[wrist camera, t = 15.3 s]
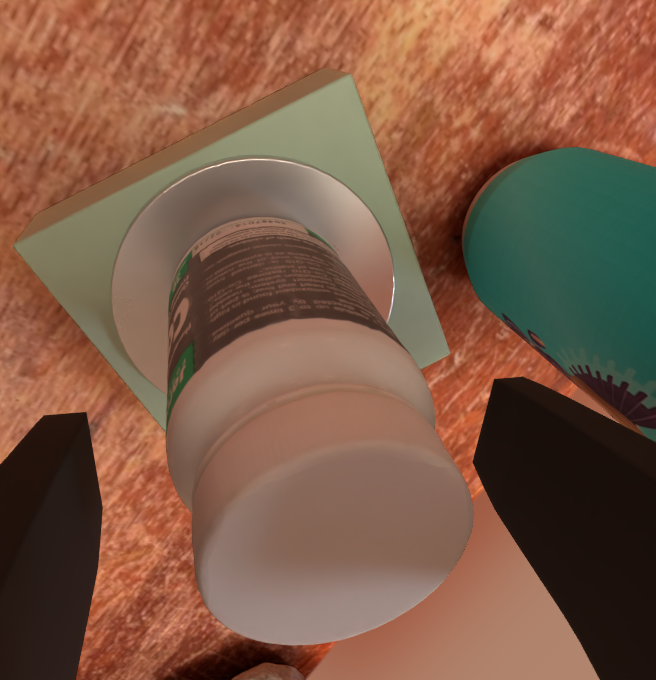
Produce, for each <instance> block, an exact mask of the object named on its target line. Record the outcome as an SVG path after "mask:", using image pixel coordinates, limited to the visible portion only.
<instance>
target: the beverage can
mask: <svg viewBox="0 0 656 680" xmlns="http://www.w3.org/2000/svg"><path fill="white" fill-rule="evenodd" d="M462 249H463V255H464V260H465V265H466V268H467V271H468V275H469V278H470V281H471V283H472V286H473V289H474V291H475V292H476V294H477V296H478V297H479V299H480V300H481V302H482V303H483V304H484V305H485V306H486V307H487V308H488V309H489V310H490V311H491V312H493V313H494V314H495V315H496V316H497V317H498V318H499V319H501V320H502V321H503V322H504V323H505V324H506V325H508V326H509V327H510V328H511V329H512V330H513V331H514V332H516V333H517V334H518V335H519V336H520V337H521V338H522V339H524V340H525V341H526V342H527V343H528V344H529V345H530V346H532V347H533V348H534V349H535V350H536V351H537V352H539V353H540V354H541V355H542V356H543V357H544V358H545V359H547V360H548V361H549V362H550V363H551V364H552V365H553V366H555V367H556V368H557V369H558V370H559V371H560V372H561V373H563V374H564V375H565V376H566V377H567V378H568V379H569V380H571V381H572V382H573V383H574V384H575V385H576V386H578V387H579V388H580V389H581V390H582V391H583V392H585V393H586V394H587V395H588V396H589V397H590V398H591V399H592V400H594V401H595V402H596V403H597V404H598V405H599V406H600V407H602V408H603V409H604V410H605V411H606V412H608V413H609V414H610V415H611V416H612V417H613V418H614V419H615V420H617V421H618V422H619V423H620V424H621V425H623V426H625V427H627V428H629V429H631V430H633V431H635V432H637V433H639V434H641V435H643V436H645V437H647V438H649V439H651V440H653V441H655V442H656V167H653V166H649V165H646V164H642V163H638V162H635V161H631V160H628V159H624V158H621V157H617V156H613V155H610V154H606V153H603V152H599V151H595V150H592V149H586V148H579V147H571V148H560V149H555V150H551V151H547V152H543V153H539V154H536V155H532V156H529V157H526V158H523V159H521V160H518V161H516V162H513V163H511V164H509V165H507V166H506V167H504V168H502V169H501V170H500V171H498V172H497V173H496V174H494V175H493V176H492V177H491V178H490V179H489V180H488V181H487V182H486V183H485V184H484V185H483V186H482V188H481V189H480V190H479V192H478V193H477V194H476V196H475V198H474V199H473V201H472V203H471V205H470V207H469V209H468V212H467V214H466V217H465V221H464V224H463V230H462Z"/></svg>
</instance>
